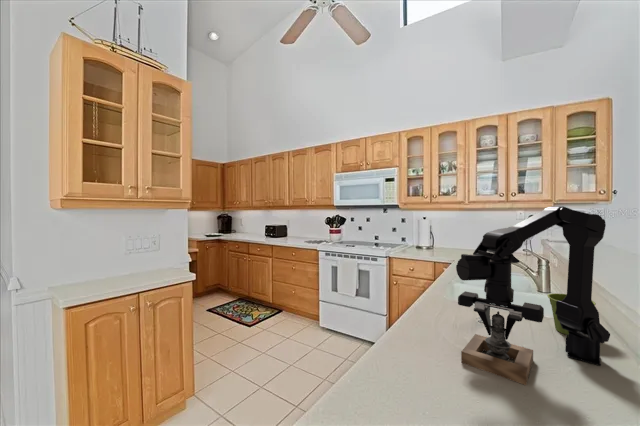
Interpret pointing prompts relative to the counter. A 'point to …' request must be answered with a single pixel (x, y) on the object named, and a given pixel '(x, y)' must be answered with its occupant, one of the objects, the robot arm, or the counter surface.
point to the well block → (498, 360)
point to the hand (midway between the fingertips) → (498, 336)
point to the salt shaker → (498, 339)
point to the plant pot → (553, 300)
